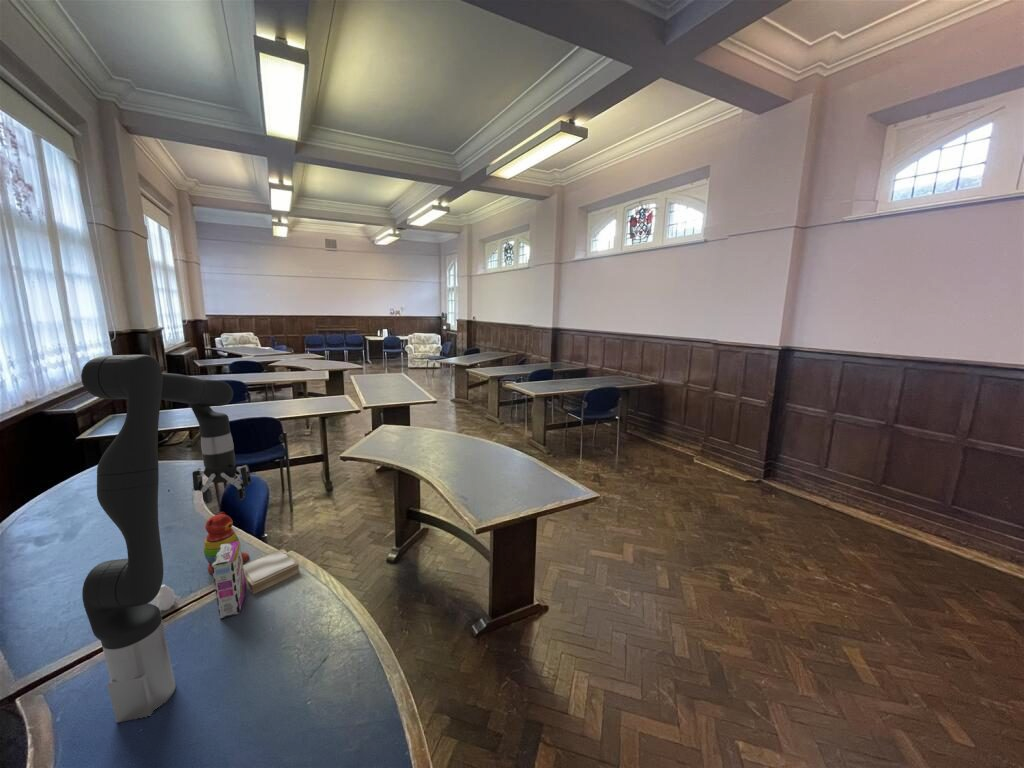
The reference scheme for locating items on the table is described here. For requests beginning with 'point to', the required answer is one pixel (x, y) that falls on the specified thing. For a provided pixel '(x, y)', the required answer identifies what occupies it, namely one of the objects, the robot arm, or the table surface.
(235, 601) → the candy bar box
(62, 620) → the table surface
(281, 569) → the tray
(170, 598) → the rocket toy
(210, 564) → the stacking bear
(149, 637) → the robot arm
